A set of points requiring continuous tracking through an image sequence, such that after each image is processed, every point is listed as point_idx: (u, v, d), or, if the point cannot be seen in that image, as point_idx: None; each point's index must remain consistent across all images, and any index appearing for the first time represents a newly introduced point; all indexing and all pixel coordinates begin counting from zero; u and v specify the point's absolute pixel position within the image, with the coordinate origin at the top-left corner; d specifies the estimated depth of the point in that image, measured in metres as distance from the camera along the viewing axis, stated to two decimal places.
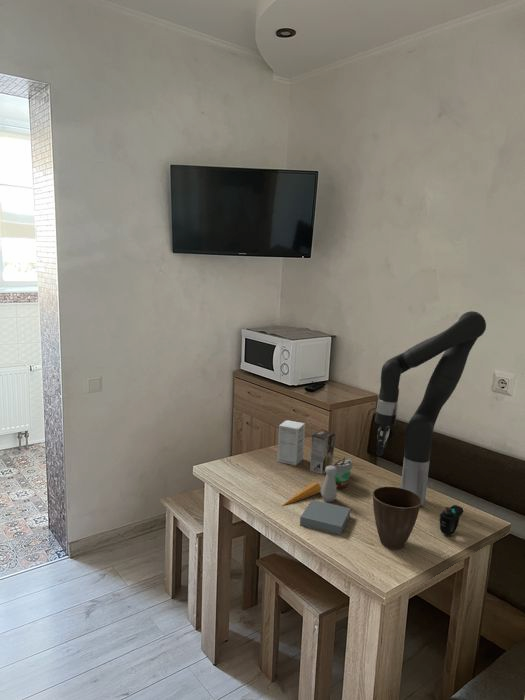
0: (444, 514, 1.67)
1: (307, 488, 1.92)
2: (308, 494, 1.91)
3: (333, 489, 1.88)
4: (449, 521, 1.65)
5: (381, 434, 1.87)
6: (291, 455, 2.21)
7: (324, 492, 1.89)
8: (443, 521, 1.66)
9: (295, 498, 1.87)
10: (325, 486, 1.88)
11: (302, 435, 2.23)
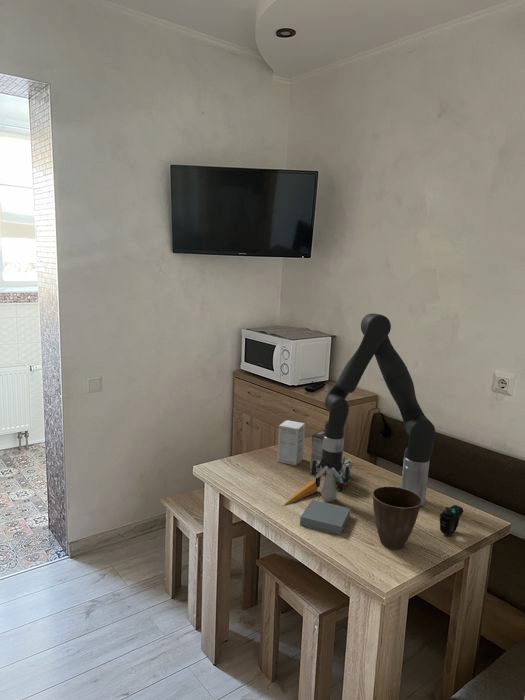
0: (444, 514, 1.67)
1: (305, 488, 1.93)
2: (306, 493, 1.91)
3: (333, 489, 1.88)
4: (449, 521, 1.65)
5: (349, 469, 1.86)
6: (291, 455, 2.21)
7: (324, 492, 1.89)
8: (443, 521, 1.66)
9: (294, 498, 1.88)
10: (325, 486, 1.88)
11: (302, 435, 2.23)
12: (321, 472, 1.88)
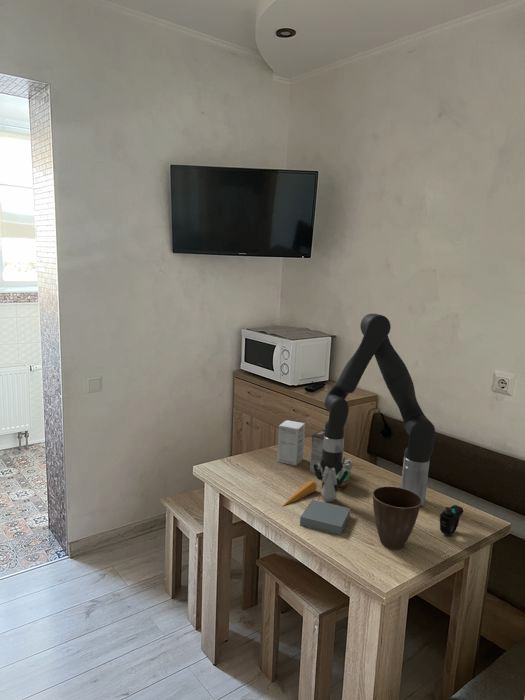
0: (444, 514, 1.67)
1: (304, 487, 1.93)
2: (306, 493, 1.92)
3: (333, 489, 1.88)
4: (449, 521, 1.65)
5: (347, 473, 1.87)
6: (291, 455, 2.21)
7: (324, 492, 1.89)
8: (443, 521, 1.66)
9: (294, 498, 1.88)
10: (325, 486, 1.88)
11: (302, 435, 2.23)
12: (325, 474, 1.88)
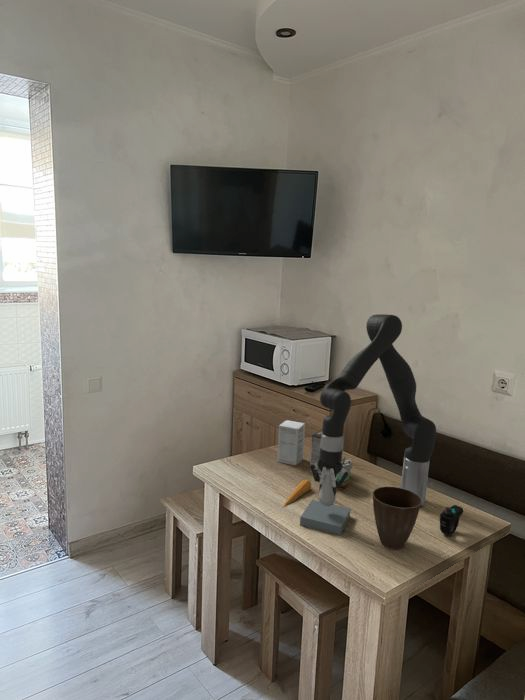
0: (444, 514, 1.67)
1: (300, 486, 1.94)
2: (302, 492, 1.92)
3: (331, 492, 1.71)
4: (449, 521, 1.65)
5: None
6: (291, 455, 2.21)
7: (321, 495, 1.72)
8: (443, 521, 1.66)
9: (292, 498, 1.88)
10: (323, 489, 1.72)
11: (302, 435, 2.23)
12: (322, 476, 1.71)
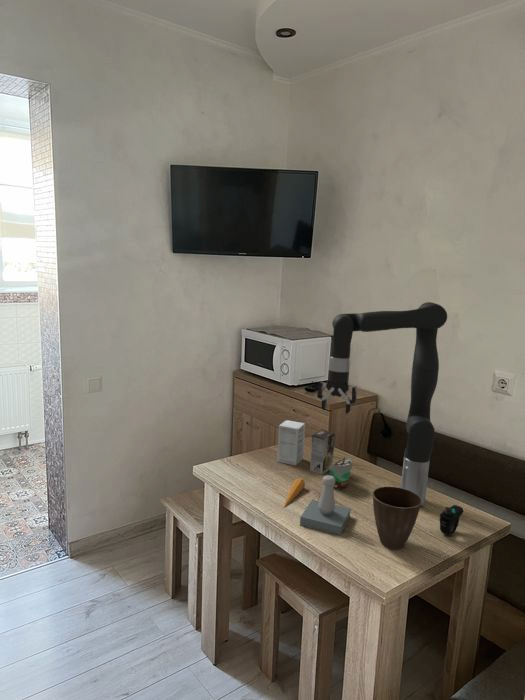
0: (444, 514, 1.67)
1: (296, 485, 1.94)
2: (298, 491, 1.93)
3: (331, 501, 1.72)
4: (449, 521, 1.65)
5: (355, 390, 1.85)
6: (291, 455, 2.21)
7: (321, 504, 1.72)
8: (443, 521, 1.66)
9: (291, 497, 1.88)
10: (322, 498, 1.72)
11: (302, 435, 2.23)
12: (327, 394, 1.87)
